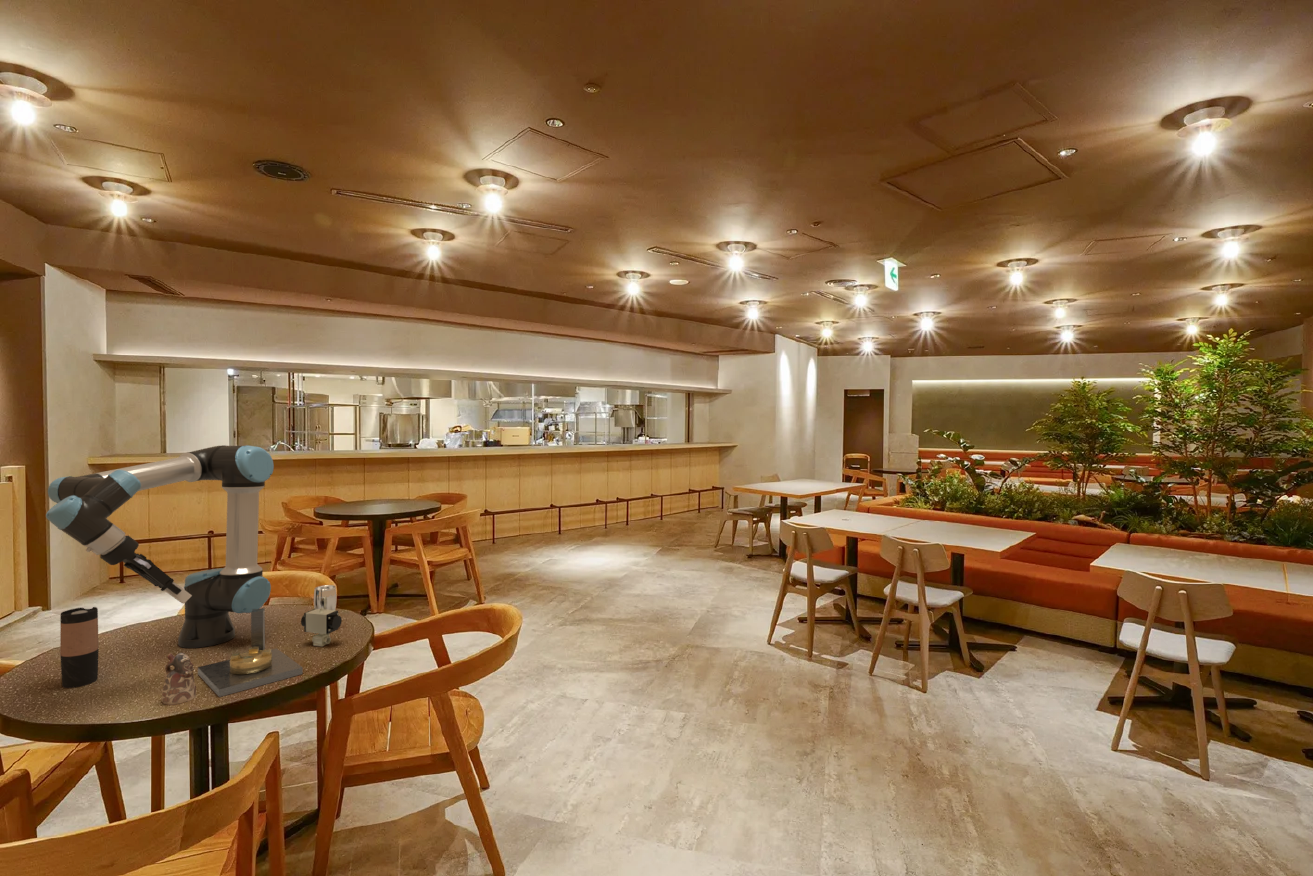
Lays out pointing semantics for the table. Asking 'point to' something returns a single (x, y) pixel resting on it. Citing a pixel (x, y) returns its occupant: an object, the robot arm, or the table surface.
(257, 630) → the metal fixture
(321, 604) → the beer glass
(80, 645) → the travel mug
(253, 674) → the base plate
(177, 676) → the figurine
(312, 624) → the pneumatic valve
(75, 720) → the table surface
